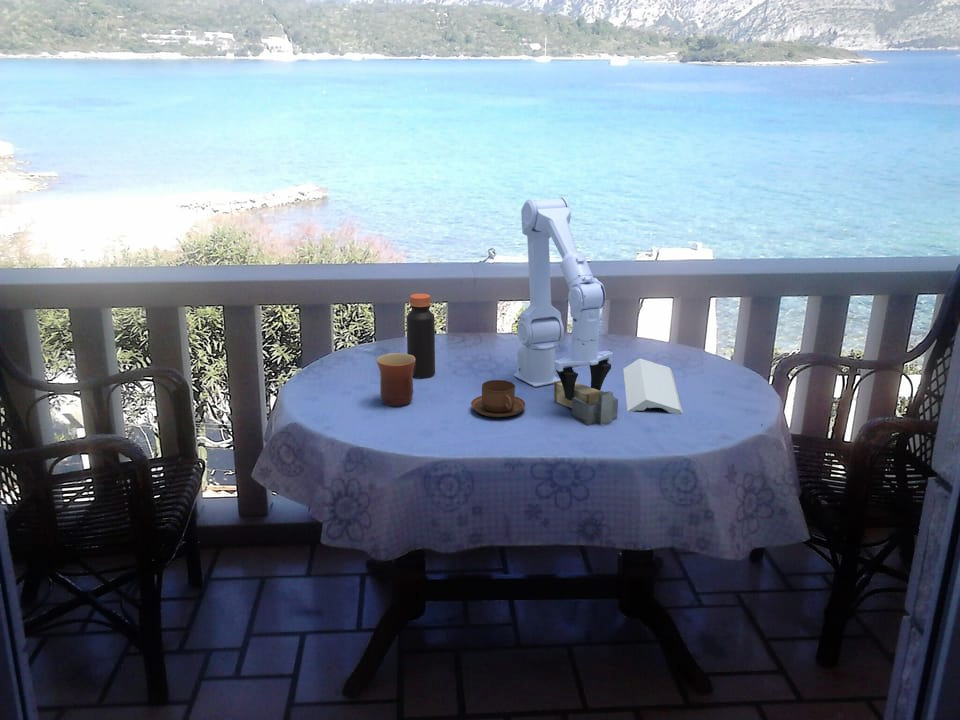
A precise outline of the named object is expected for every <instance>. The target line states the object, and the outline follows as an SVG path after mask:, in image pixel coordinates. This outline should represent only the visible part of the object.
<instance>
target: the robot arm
mask: <svg viewBox="0 0 960 720" xmlns="http://www.w3.org/2000/svg"><path fill="white" fill-rule="evenodd" d="M520 210H521V211H520V212H521V213H520V214H521V216H520V217H521V230H522V234H523V236H526V237H527V255H528V257H527V260H528V281H529V282H528V286H529V304H530V305H529V306H527V308H525V309H524V310H522V312H521V313H520V314H519V322H518V326H517V335H518V339H519V341H520V345H519V347H518V349H517V361H516V363H517V364H516V373H514V374H513V376H514V377H516V378H517V379H519V380H521V381H523V382H525V383H526V384H529V385H530V386H533V387H534V388H537V387H542V386H546V385H551V384H554V382H557V381H561V382H562V386H563V389H564V394H565V398H566V399H568V400H570V401H571V400H572V397H574V388H575V382H577V378H578V376H579V373H578V372H576V371H575V369H574V368H579V367H583V366H588V365H589V369H590V387H591V388H594V389H597V390H599V391H602V390H601V389H602V386H603V384H604V382H605V379H606V377H607V375H608V373H609V372H610V371H611V369H612V364H611V363H609V362H613V361H614V360H613V355H614V353H613V352H612V351H609V350H603V351H602V350H601V351H598V350H599V347H598V346H599V333H600V332H599V330H600V329H599V328H600V316H601V315H600V314H601V311H600V309H602V308H604V307H605V305H606V301H607V293H606V290H605V286H604V284H603V283H602V282H601V281H600V280H598V278H597V277H594V275H593V273H592V271H591V268H590V266H589V264H588V263H589V262H587V259H586V257H585V255H584V254H582V253H579V252H578V250H577V247H576V243H575V240H574V238H573V234H572V231H571V227H570V223H571V222H570V221H571V217H572V216H571V215H572V213H571V206H570V203H569V201H568V200H567V199H566V198H565V197H559V198H545V199H543V198H542V199H531V198H529V199H526V201H525V202H524V203H523V205H522V208H521V209H520ZM550 238H551V239H552V241H553V243H554V245H555V247H556V249H557V251H558V253H559V255H560V257H561V258H562V261H561V262H560V265H559V266H560V269H561V272H562V274H563V277H564V280H565V282H566V285H567V287H568V290H569V292H568V294H567V295H568V296H567V298H568V304H569V308H570V311H569V315H570V317H571V318H572V326H571V328H572V329H571V347H570V348H571V350H570V351H571V352H570V354H568V355H567V356H564V357H563V358H560V359H556V347H558V346H559V343H560V342H561V341H562V340H563V337H564V333H565V330H564V329H565V328H564V324H563V321H562V314H561V312H560V310H559V309H557V308H556V307H554V306H553V305H552V289H551V288H552V287H551V286H552V285H551V284H552V283H551V264H550V263H551V261H550V260H551V259H550ZM555 371H556V373H557V375H558V377H557V376H555Z"/></svg>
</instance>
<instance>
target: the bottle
mask: <svg viewBox="0 0 960 720" xmlns="http://www.w3.org/2000/svg"><path fill="white" fill-rule="evenodd" d="M431 301H432V300H431V295H430V294H427V293H413V294H411V295H410V296H409V305H410V308H411V310H410V311H409V312H408V314H407V315H406V343H407V344H406V349H407V350H406V352H407V353H406V354H411V355H414V357H415V359H416V360H415V362H416V363H415V371H414V375H413V379H428V378H431V377H433V376H435V374H436V343H435V341H436V340H435V339H436V337H435V336H436V332H435V331H436V330H435V329H436V326H435V324H436V323H435V321H436V320H435V314H434V313H433V312H432V311H431V310H430V307H431Z"/></svg>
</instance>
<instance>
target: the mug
mask: <svg viewBox="0 0 960 720" xmlns="http://www.w3.org/2000/svg"><path fill="white" fill-rule="evenodd" d="M415 360H416V359H415V357H414V355H411V354H407V353H401V352H397V353H396V352H395V353H394V352H393V353H386V354H382V355H380V356H378V357H377V358H376V363H377V366H378V371H379V376H380V378H379V379H380V382H379V384H380V385H379V387H380V388H379V389H380V392H379V394H380V398H381V402H382V403H384V404H385V405H387V406H389V407H403V406H406V405H408V404H410V403H411V402H412V400H413V397H414V378H413V375H414V371H415V363H416V362H415Z"/></svg>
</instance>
